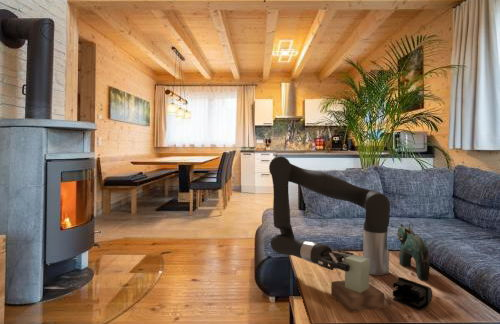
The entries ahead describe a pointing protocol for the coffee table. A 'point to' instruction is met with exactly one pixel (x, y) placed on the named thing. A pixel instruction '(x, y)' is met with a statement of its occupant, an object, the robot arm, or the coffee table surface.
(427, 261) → the green animal figurine
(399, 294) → the end cap
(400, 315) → the coffee table surface
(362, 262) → the tall sage green block
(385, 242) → the robot arm
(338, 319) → the coffee table surface
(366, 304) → the walnut box
